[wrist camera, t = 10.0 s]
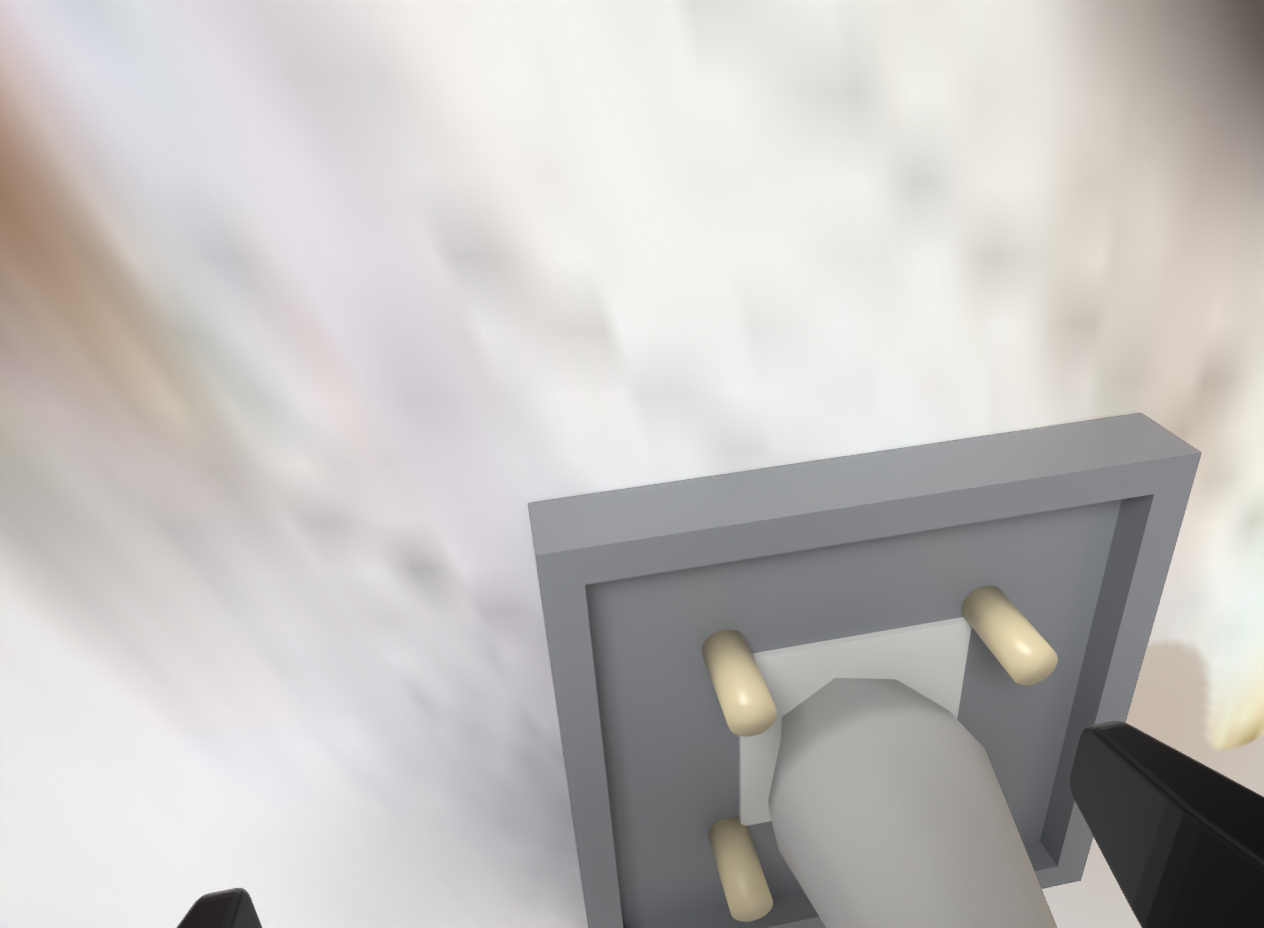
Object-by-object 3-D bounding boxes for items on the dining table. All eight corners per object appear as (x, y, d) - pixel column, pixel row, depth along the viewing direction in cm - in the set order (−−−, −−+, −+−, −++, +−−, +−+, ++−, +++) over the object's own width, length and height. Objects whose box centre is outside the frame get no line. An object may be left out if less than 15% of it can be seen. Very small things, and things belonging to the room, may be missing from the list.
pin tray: (1042, 824, 32) (1109, 922, 28) (586, 918, 30) (603, 1033, 26) (1141, 412, 24) (1249, 484, 20) (528, 503, 22) (541, 597, 19)
